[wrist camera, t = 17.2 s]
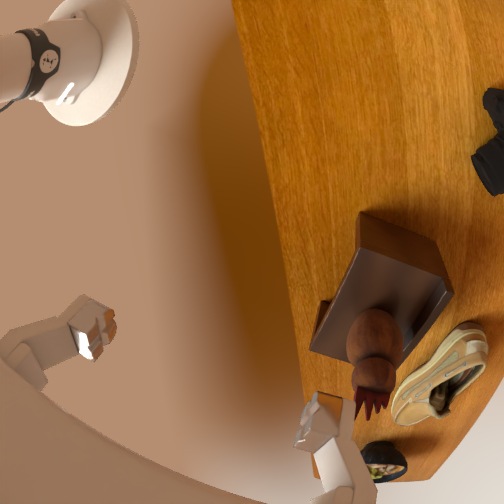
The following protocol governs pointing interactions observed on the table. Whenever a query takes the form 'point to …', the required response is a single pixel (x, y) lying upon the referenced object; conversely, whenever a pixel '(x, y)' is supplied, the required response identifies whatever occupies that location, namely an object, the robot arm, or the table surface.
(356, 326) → the wooden figurine
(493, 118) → the film camera
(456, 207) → the table surface
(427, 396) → the boat shoe
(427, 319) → the display shelf
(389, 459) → the bowl
